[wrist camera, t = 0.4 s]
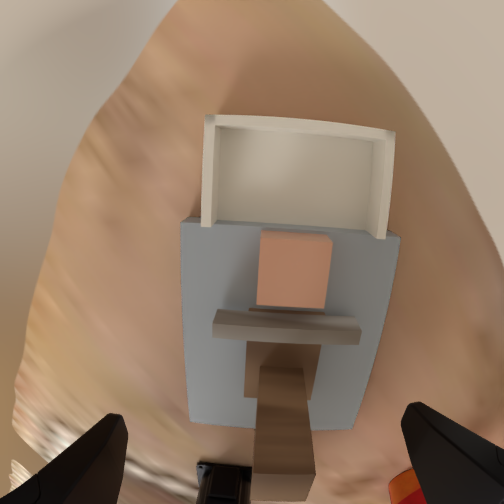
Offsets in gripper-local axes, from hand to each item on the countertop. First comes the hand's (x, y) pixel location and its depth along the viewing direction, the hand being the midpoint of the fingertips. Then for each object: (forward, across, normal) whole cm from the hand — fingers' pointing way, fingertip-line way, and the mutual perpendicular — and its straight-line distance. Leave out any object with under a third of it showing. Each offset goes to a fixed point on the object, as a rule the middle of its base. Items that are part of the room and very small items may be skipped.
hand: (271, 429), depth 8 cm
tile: (+12, -2, -1) cm, 12 cm away
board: (+14, -3, +5) cm, 15 cm away
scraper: (+12, -2, +6) cm, 14 cm away
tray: (+14, -3, -6) cm, 16 cm away
